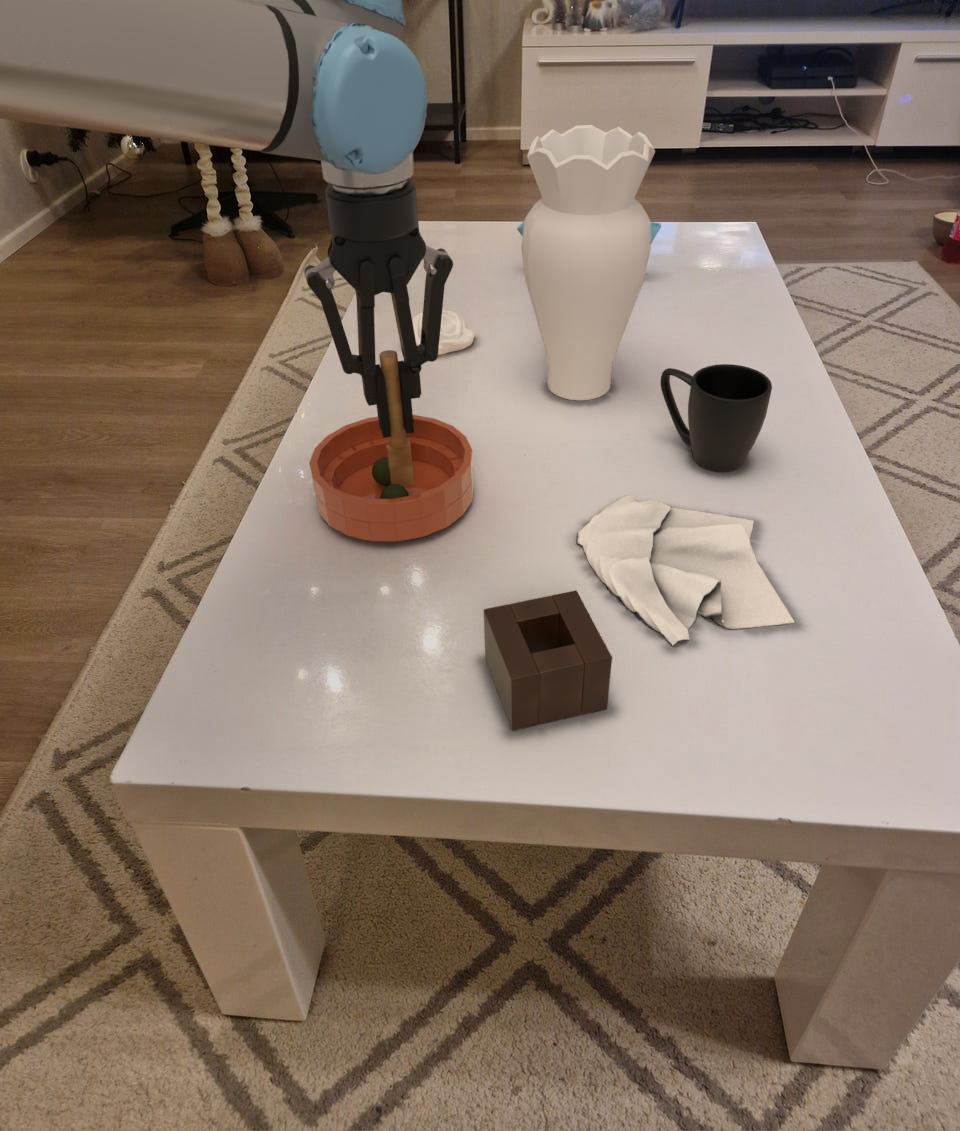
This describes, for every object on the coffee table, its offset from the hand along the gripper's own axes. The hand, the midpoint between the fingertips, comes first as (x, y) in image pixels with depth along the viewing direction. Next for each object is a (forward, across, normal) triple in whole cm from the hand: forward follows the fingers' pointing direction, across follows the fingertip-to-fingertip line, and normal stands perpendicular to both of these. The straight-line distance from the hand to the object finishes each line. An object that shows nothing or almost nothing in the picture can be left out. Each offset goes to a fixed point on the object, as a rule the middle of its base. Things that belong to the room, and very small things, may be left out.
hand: (396, 427), depth 86 cm
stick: (+7, 0, 0) cm, 7 cm away
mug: (+9, -34, +1) cm, 35 cm away
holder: (+9, -6, +29) cm, 31 cm away
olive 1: (+7, +1, -3) cm, 7 cm away
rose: (+9, -12, -36) cm, 39 cm away
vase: (+9, -26, -18) cm, 33 cm away
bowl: (+9, +1, 0) cm, 9 cm away
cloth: (+9, -23, +19) cm, 31 cm away
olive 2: (+7, +1, +3) cm, 7 cm away
